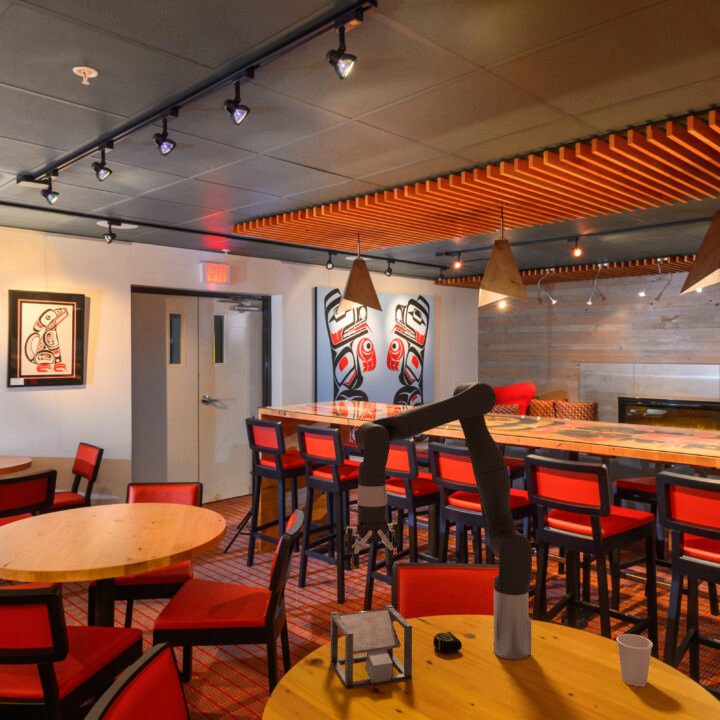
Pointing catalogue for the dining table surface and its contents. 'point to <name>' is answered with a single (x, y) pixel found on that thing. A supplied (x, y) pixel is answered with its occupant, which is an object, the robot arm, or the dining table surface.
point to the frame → (349, 658)
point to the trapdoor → (371, 630)
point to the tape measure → (447, 642)
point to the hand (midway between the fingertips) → (372, 565)
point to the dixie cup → (634, 658)
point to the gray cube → (378, 665)
